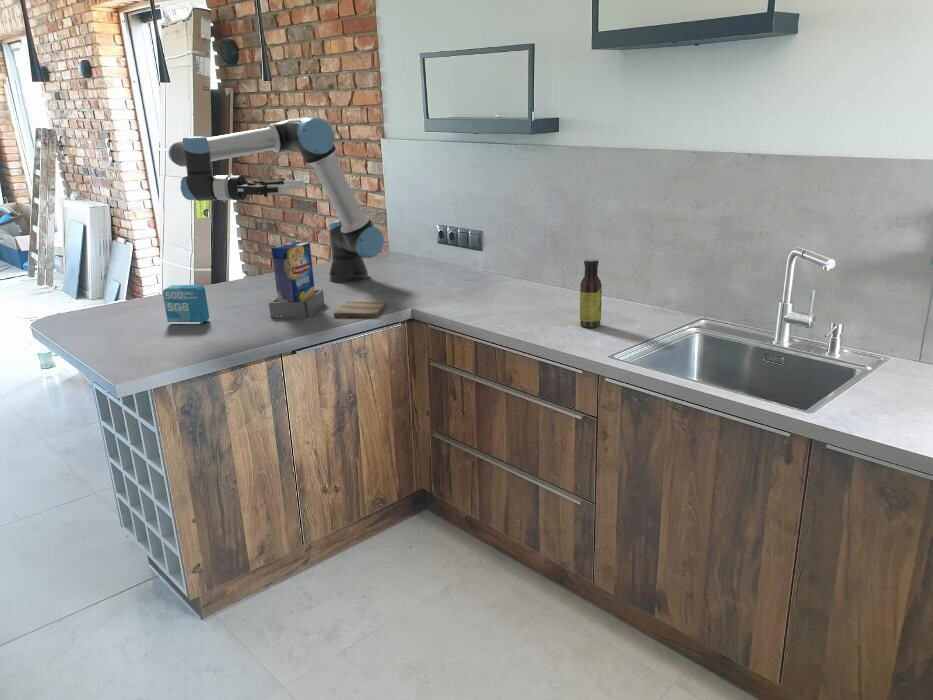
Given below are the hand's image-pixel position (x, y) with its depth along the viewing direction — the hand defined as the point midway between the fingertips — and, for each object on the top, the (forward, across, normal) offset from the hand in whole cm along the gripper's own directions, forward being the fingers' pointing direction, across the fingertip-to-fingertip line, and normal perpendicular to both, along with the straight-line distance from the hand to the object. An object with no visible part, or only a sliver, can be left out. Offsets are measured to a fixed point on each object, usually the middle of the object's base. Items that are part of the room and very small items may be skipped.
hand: (296, 186), depth 221 cm
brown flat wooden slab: (+17, -2, -41) cm, 44 cm away
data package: (-36, +11, -41) cm, 56 cm away
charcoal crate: (-5, -4, -41) cm, 41 cm away
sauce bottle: (+90, +12, -41) cm, 100 cm away
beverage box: (-5, -4, -41) cm, 42 cm away
